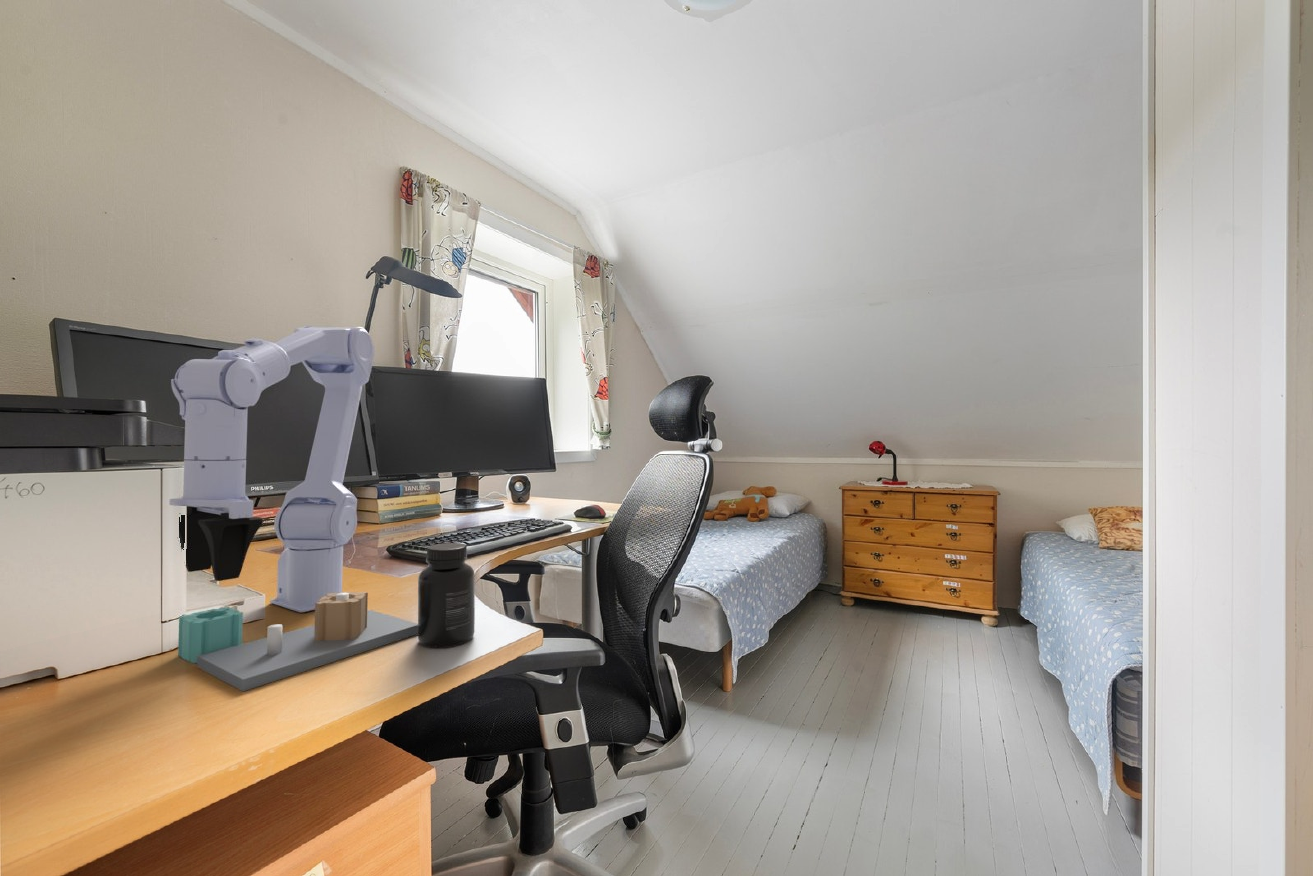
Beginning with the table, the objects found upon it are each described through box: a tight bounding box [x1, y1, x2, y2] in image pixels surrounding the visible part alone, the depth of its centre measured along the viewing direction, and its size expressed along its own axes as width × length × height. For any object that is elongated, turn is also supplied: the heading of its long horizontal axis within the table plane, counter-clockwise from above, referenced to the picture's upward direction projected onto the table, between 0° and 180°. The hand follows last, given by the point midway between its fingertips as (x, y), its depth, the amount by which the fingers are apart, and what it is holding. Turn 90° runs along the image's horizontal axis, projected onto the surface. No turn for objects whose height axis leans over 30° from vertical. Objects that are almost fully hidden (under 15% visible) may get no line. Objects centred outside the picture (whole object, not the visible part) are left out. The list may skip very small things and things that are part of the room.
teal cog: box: [177, 606, 244, 664], centre depth 63 cm, size 5×5×4 cm
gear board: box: [196, 591, 418, 692], centre depth 65 cm, size 11×20×6 cm, turn 149°
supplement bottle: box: [417, 542, 476, 649], centre depth 69 cm, size 7×7×12 cm
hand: (212, 574), depth 64 cm, fingers open, 7 cm apart
